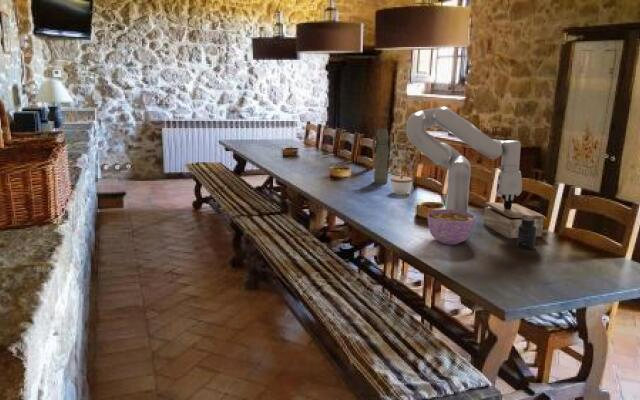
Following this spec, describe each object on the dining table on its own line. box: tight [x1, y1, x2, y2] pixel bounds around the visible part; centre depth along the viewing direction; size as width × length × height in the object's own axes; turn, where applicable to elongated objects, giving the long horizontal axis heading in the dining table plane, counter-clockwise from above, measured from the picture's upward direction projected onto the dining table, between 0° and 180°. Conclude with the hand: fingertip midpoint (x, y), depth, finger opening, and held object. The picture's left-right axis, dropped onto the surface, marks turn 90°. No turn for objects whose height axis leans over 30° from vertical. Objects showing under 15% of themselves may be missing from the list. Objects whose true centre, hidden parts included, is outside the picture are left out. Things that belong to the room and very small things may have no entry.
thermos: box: [372, 128, 392, 185], centre depth 327 cm, size 9×12×35 cm
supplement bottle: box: [516, 218, 537, 250], centre depth 205 cm, size 7×7×12 cm
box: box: [483, 206, 544, 239], centre depth 229 cm, size 16×22×8 cm
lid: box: [484, 201, 545, 219], centre depth 227 cm, size 16×22×1 cm
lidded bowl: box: [390, 174, 413, 196], centre depth 300 cm, size 13×13×11 cm
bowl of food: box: [426, 208, 477, 245], centre depth 212 cm, size 20×20×12 cm
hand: (507, 208), depth 226 cm, fingers closed
